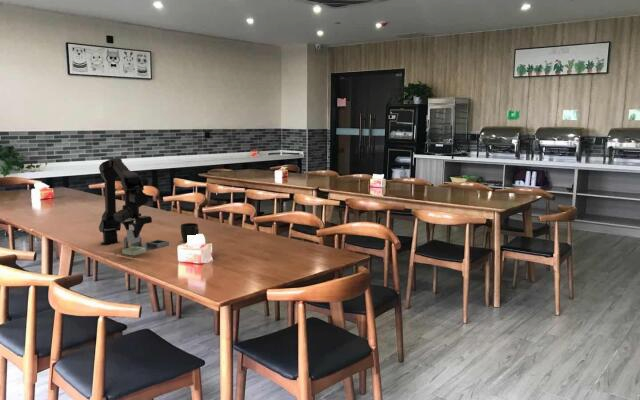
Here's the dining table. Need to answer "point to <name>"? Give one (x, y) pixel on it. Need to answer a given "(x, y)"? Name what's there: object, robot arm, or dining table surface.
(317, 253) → the dining table surface
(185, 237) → the mug
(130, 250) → the grey square frame
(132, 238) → the grey block
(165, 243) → the socket block
